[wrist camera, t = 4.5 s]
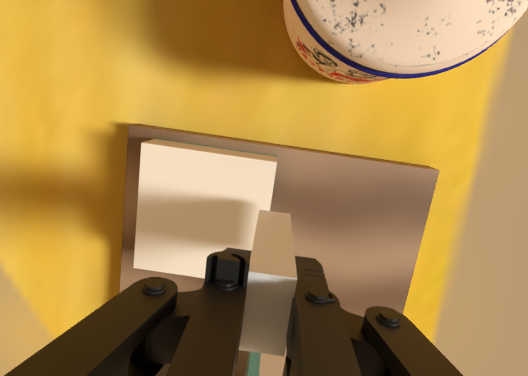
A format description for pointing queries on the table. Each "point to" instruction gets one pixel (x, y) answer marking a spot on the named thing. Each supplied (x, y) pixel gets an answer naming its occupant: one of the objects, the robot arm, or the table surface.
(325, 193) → the walnut board
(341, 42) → the teacup with lid
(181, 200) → the tile
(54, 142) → the table surface
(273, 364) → the tile
